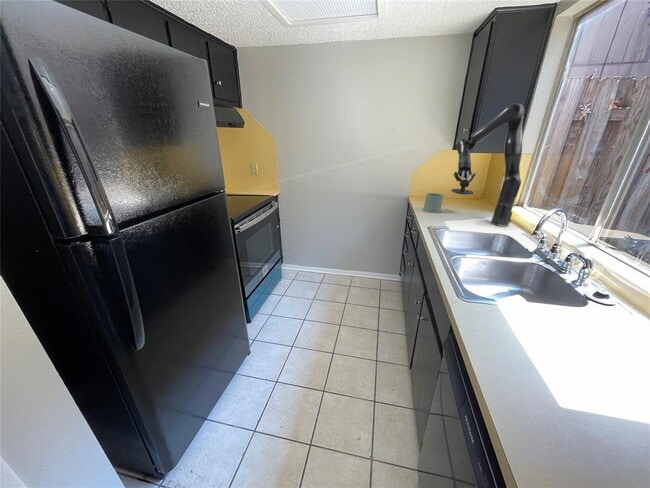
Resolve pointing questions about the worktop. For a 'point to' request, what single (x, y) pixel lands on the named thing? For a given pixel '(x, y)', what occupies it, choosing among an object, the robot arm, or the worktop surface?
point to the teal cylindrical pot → (433, 202)
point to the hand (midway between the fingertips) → (464, 186)
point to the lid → (463, 189)
